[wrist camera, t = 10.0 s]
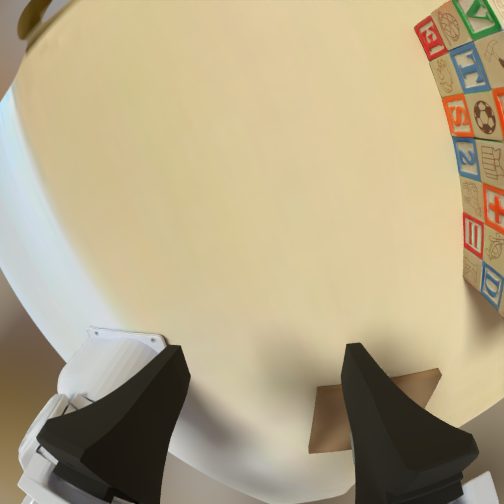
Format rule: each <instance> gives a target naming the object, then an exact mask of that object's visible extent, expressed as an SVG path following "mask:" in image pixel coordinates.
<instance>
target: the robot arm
mask: <svg viewBox="0 0 504 504" xmlns="http://www.w3.org/2000/svg"><path fill="white" fill-rule="evenodd" d="M87 333H88V335H89V338H88V339H87V340H86V341H85V342H84V343H83V345H82V346H81V347H80V348H79V349H78V351H77V352H76V353H75V354H74V355H73V357H72V358H71V359H70V360H69V362H68V363H67V364H66V365H65V367H64V368H63V370H62V371H61V373H60V376H59V379H58V394H55V395H54V396H53V397H52V398H51V399H50V400H49V401H48V403H47V404H46V405H45V407H44V408H43V409H42V410H41V412H40V413H39V414H38V416H37V417H36V419H35V420H34V422H33V423H32V425H31V426H30V428H29V430H28V431H27V433H26V435H25V438H24V439H23V440H22V442H21V444H20V447H19V461H20V464H21V466H22V468H23V470H24V473H23V475H22V477H21V479H20V481H19V482H18V484H17V485H18V487H19V488H21V489H22V490H23V491H24V492H25V493H27V495H26V497H25V498H24V500H23V502H22V503H21V504H160V495H161V485H162V478H163V471H164V466H165V461H166V456H167V451H168V447H169V443H170V439H171V436H172V432H173V430H174V427H175V424H176V422H177V419H178V417H179V414H180V411H181V409H182V406H183V403H184V401H185V398H186V395H187V391H188V387H189V382H190V377H191V376H190V373H189V370H188V367H187V364H186V360H185V357H184V354H183V351H182V348H181V346H180V345H168V346H166V343H165V340H164V338H163V337H162V336H161V335H156V334H145V333H134V332H125V331H116V330H108V329H100V328H93V327H89V328H88V329H87ZM154 339H155V340H154ZM341 381H342V390H343V397H344V402H345V406H346V410H347V415H348V419H349V424H350V428H351V433H352V438H353V444H354V456H355V477H356V498H355V504H499V502H498V498H497V494H496V490H495V487H494V484H493V480H492V477H491V474H490V472H489V471H487V472H485V473H483V474H481V475H480V476H478V477H476V478H474V479H472V480H470V481H468V482H467V483H465V484H463V485H462V486H461V482H460V480H462V479H463V474H462V471H463V470H464V469H465V468H466V467H467V466H469V465H470V464H471V463H472V462H473V461H474V460H475V459H476V458H477V456H478V454H479V450H478V447H477V444H476V442H475V440H474V438H473V436H472V434H470V433H467V432H465V431H462V430H460V429H458V428H455V427H453V426H451V425H449V424H447V423H446V422H444V421H442V420H440V419H439V418H437V417H435V416H434V415H432V414H431V413H429V412H428V411H426V410H425V409H423V408H422V407H421V406H419V405H418V404H417V403H415V402H414V401H413V400H412V399H411V398H409V397H408V396H407V395H406V394H405V393H404V392H403V391H402V390H401V389H400V388H399V387H398V386H397V385H396V384H395V383H394V382H393V381H392V380H391V379H390V378H389V377H388V376H387V375H386V373H385V372H384V371H383V370H382V369H381V368H380V367H379V365H378V364H377V363H376V362H375V361H374V359H373V358H372V357H371V356H370V354H369V353H368V352H367V350H366V349H365V348H364V346H363V345H362V344H361V343H351V344H346V350H345V356H344V362H343V367H342V373H341Z"/></svg>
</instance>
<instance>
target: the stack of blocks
mask: <svg viewBox="0 0 504 504" xmlns="http://www.w3.org/2000/svg"><path fill="white" fill-rule="evenodd" d="M414 29H415V31H416V33H417V35H418V37H419V39H420V41H421V43H422V45H423V47H424V50H425V52H426V54H427V57H428V59H429V60H430V62H429V64H430V67H431V69H432V72H433V75H434V77H435V80H436V83H437V86H438V89H439V92H440V94H441V96H442V101H443V105H444V109H445V112H446V116H447V120H448V124H449V128H450V132H451V135H452V136H453V143H454V148H455V153H456V158H457V164H458V171H459V174H460V184H461V193H462V203H463V229H464V256H463V277H464V279H466V280H467V281H468V282H469V283H470V284H471V285H472V286H473V287H474V288H475V289H476V290H477V291H478V292H479V293H481V294H482V295H483V296H484V297H485V298H486V299H487V300H488V301H489V302H490V303H491V304H492V305H493V306H494V307H495V308H496V310H497V311H499V312H500V315H501V316H502V317H503V318H504V0H450V1H448V2H446V3H445V4H443V5H442V6H440V7H439V8H438V9H436V10H435V11H433V12H432V13H431V15H430V16H428V17H426V18H425V19H424V20H422V21H421V22H419V23H418V24H417V25H416V26H415V27H414Z"/></svg>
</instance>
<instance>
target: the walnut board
mask: <svg viewBox="0 0 504 504" xmlns="http://www.w3.org/2000/svg"><path fill="white" fill-rule="evenodd" d="M441 376H442V374H441V372H440V371H439V369H438V368H436V369H432V370H428V371H424V372H419V373H415V374H410V375H405V376H399V377H394V378H390V379H391V380H392V381H393V382H394V383H395V384H396V385H397V386H398V387H399V388H400V389H401V390H402V391H403V392H404V393H405V394H406V395H407V396H408V397H409V398H411V399H412V400H413V401H414V402H415V403H417V404H418V405H419V406H421V407H422V408H423V409H424V408H425V406H426V405H427V403H428V401H429V399H430V397H431V396H432V394H433V392H434V390H435V388H436V386H437V384H438V382H439V380H440V378H441ZM350 433H351V428H350V424H349V419H348V415H347V410H346V406H345V402H344V397H343V390H342V385H334V386H321V387H317V395H316V402H315V409H314V416H313V423H312V429H311V436H310V441H309V454H311V453H324V452H334V451H343V450H350V449H352V446H351V439H350Z"/></svg>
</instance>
